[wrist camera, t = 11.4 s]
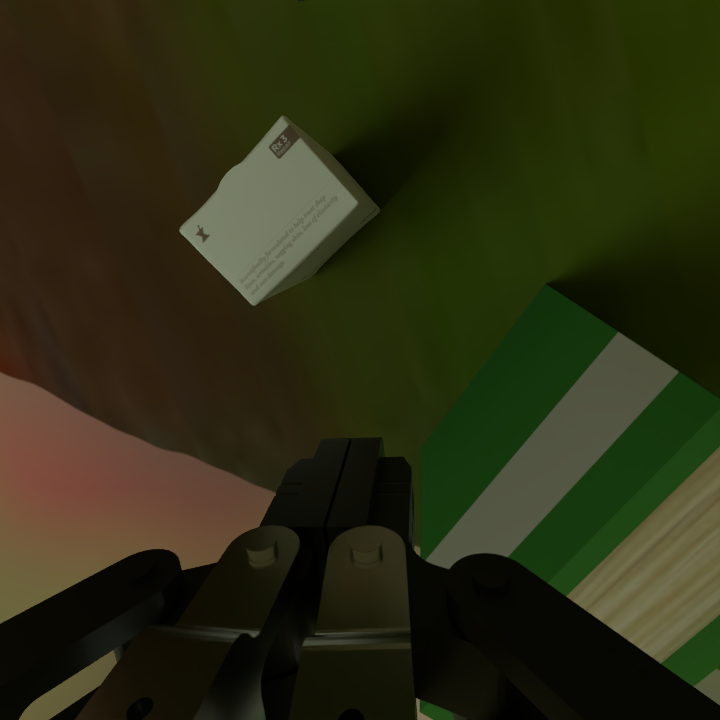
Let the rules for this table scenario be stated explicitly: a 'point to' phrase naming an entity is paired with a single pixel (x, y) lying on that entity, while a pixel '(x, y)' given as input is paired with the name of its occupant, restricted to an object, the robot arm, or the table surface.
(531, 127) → the table surface
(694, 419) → the hardback book
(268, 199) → the skincare box
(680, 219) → the table surface
